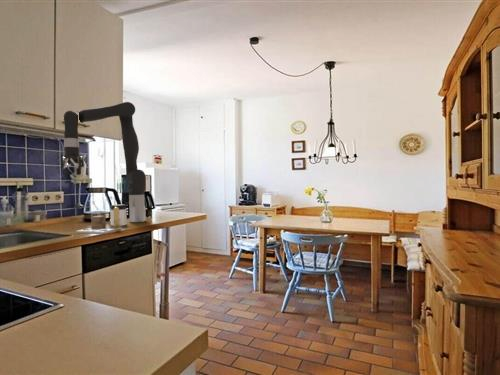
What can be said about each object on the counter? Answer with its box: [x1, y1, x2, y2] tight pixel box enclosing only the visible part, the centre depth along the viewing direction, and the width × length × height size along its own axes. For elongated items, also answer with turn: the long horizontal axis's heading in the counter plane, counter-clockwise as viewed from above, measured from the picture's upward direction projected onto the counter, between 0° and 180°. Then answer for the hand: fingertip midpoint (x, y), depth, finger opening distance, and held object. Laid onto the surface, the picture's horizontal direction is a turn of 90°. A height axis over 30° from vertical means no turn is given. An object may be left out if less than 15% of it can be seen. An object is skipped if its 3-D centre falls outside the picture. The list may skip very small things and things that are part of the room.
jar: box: [109, 203, 128, 227], centre depth 190 cm, size 9×8×12 cm
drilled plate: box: [75, 227, 115, 235], centre depth 165 cm, size 8×17×1 cm, turn 73°
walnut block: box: [90, 215, 107, 229], centre depth 176 cm, size 5×5×7 cm
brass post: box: [111, 207, 122, 231], centre depth 172 cm, size 4×4×12 cm
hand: (72, 175), depth 182 cm, fingers open, 8 cm apart
